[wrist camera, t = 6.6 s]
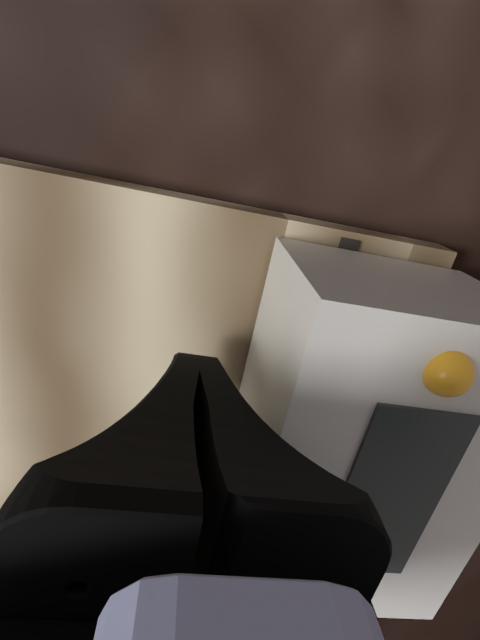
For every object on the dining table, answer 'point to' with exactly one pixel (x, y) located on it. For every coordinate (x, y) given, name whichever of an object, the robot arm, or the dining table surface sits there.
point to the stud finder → (379, 399)
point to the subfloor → (128, 296)
